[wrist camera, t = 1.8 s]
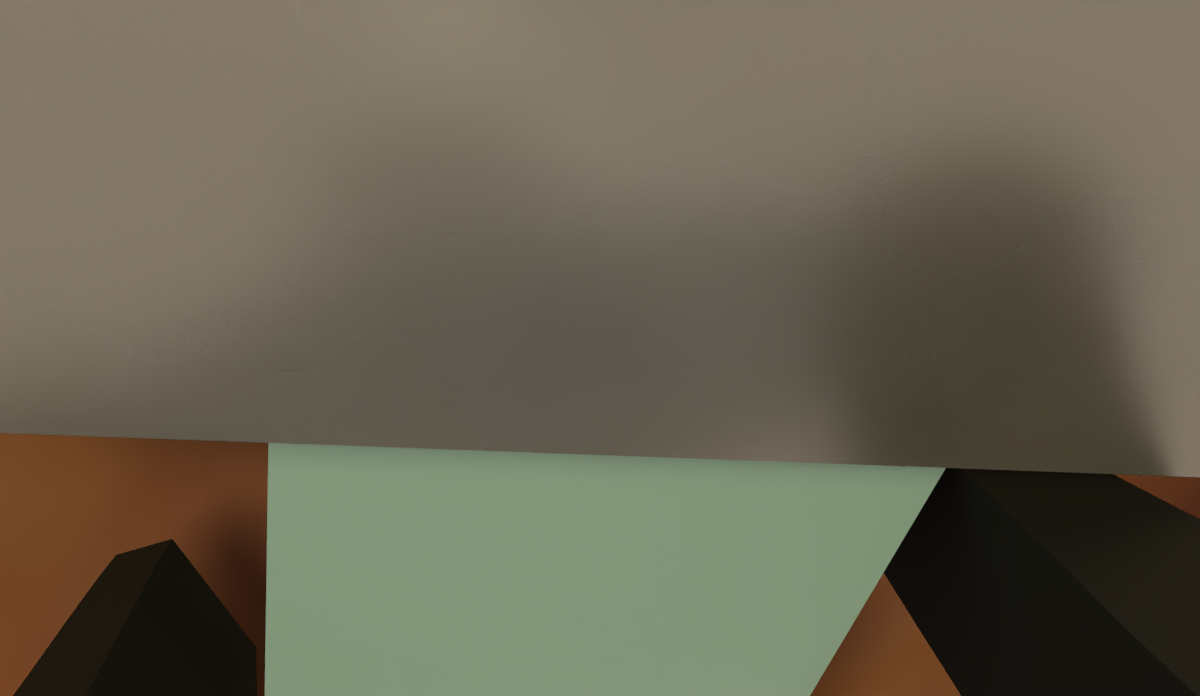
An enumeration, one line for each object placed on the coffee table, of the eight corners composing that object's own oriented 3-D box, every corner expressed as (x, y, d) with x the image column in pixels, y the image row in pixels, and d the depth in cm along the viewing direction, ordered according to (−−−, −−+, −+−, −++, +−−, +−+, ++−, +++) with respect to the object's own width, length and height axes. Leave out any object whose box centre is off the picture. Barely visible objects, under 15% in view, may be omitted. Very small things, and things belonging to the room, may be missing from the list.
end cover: (929, -327, 8) (1435, -352, 4) (647, 486, 14) (749, 797, 10) (348, -522, 7) (289, -847, 3) (303, 476, 12) (262, 838, 8)
